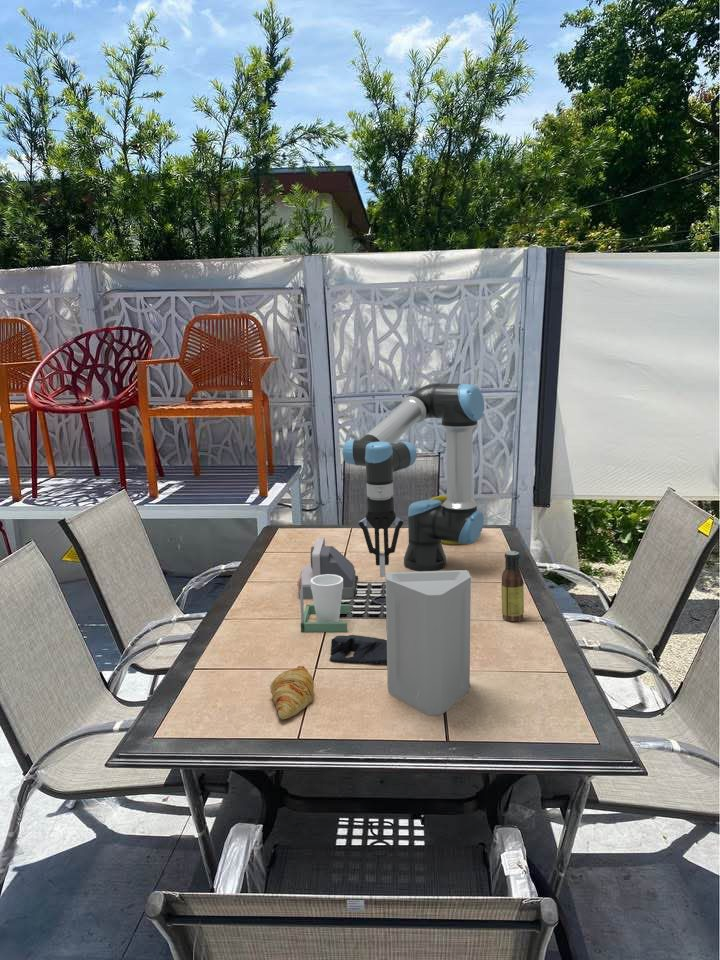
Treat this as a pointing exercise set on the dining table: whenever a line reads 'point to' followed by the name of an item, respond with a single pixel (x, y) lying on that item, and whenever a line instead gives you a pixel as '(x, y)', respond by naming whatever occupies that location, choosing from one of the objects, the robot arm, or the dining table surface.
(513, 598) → the sauce bottle
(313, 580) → the foam cup
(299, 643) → the dining table surface
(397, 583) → the grey triangular prism
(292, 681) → the croissant
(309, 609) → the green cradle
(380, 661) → the crumpled black cloth
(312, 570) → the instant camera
